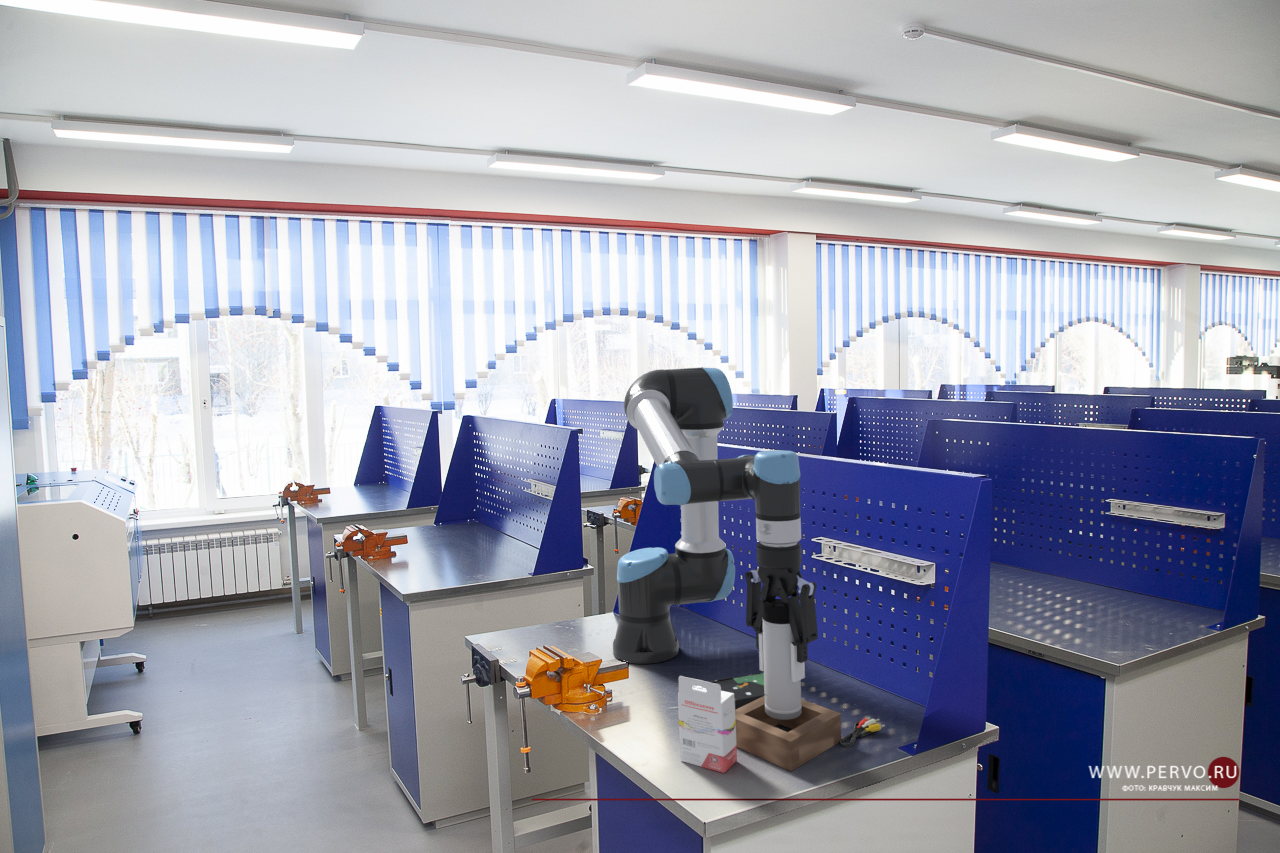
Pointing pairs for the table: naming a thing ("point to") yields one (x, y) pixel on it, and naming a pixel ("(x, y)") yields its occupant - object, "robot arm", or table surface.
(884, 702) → the table surface
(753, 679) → the disk drive
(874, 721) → the composite cable
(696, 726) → the ink cartridge box
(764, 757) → the mug holder
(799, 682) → the travel mug
